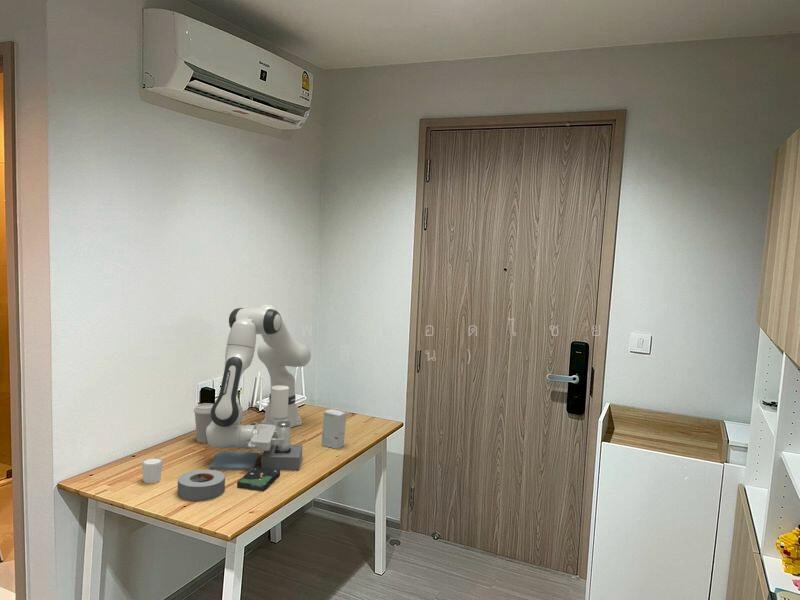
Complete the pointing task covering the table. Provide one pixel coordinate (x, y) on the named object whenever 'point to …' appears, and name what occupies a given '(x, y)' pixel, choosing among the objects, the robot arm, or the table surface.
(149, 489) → the table surface
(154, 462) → the light grey cylinder
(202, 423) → the coffee cup
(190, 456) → the table surface
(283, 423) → the metal plug
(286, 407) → the cylindrical container
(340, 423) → the skincare box
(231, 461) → the rubber mat
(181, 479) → the tape roll
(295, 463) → the block
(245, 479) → the disk drive
